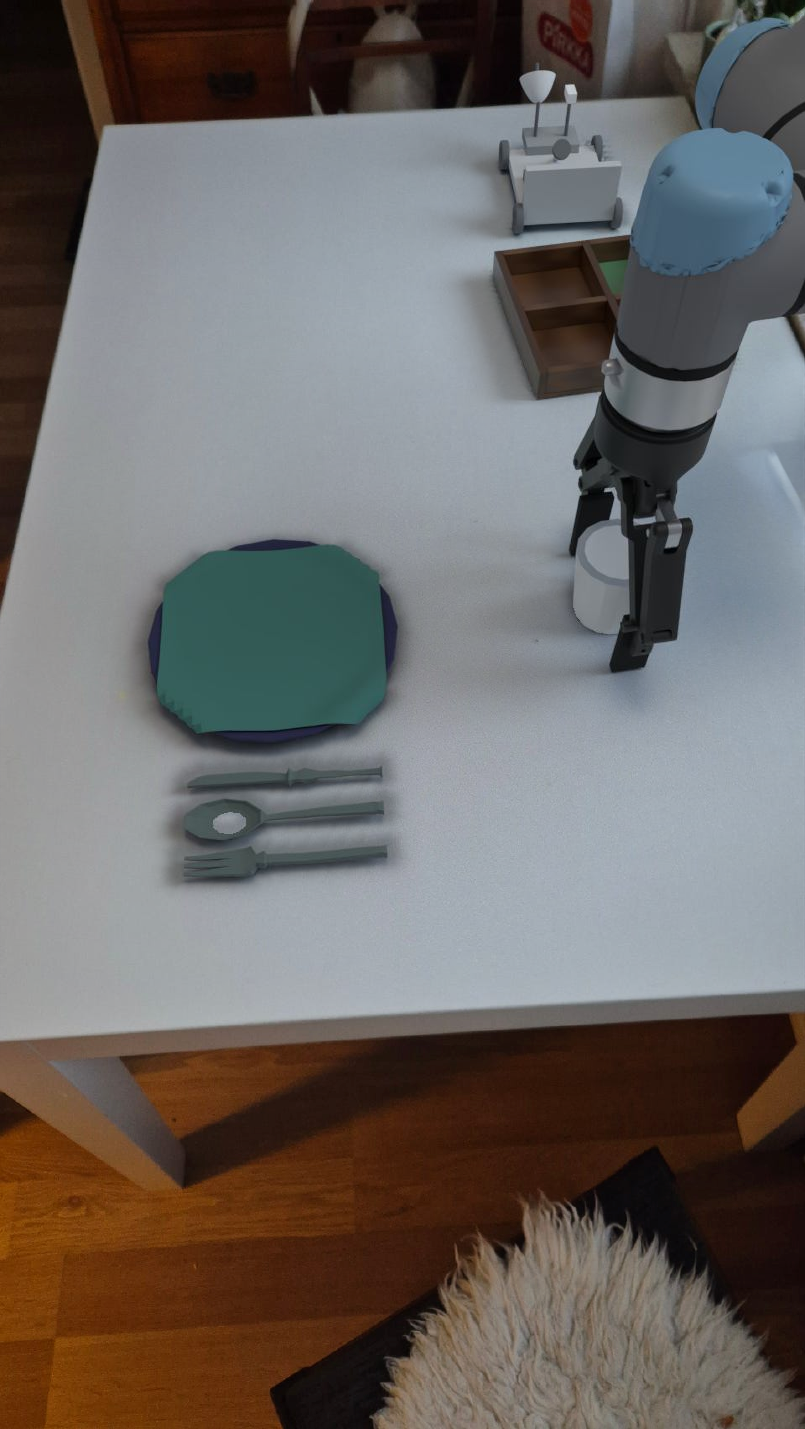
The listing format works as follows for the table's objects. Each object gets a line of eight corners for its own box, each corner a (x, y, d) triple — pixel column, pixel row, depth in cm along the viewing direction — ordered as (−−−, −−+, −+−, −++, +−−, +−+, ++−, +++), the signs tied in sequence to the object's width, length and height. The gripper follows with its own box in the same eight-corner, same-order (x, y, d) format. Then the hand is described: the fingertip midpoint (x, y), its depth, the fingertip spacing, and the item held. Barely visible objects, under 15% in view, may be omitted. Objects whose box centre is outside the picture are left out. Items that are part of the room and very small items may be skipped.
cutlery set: (390, 546, 87) (390, 528, 85) (416, 868, 71) (416, 855, 70) (160, 560, 87) (154, 542, 85) (134, 887, 71) (126, 875, 69)
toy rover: (501, 59, 111) (605, 54, 112) (495, 148, 120) (592, 143, 120) (522, 149, 102) (636, 143, 102) (514, 239, 110) (620, 233, 110)
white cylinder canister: (551, 588, 85) (561, 532, 79) (624, 565, 86) (640, 508, 80) (587, 651, 81) (600, 596, 75) (663, 626, 82) (682, 570, 76)
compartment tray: (667, 256, 108) (673, 229, 106) (728, 374, 98) (736, 347, 96) (492, 278, 107) (494, 251, 104) (536, 400, 97) (539, 373, 94)
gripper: (556, 289, 71) (526, 507, 89) (661, 543, 58) (601, 735, 77) (659, 276, 71) (608, 495, 90) (785, 525, 59) (696, 720, 77)
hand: (605, 606), depth 83 cm, fingers open, 11 cm apart
